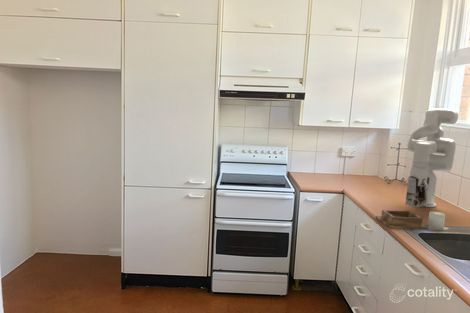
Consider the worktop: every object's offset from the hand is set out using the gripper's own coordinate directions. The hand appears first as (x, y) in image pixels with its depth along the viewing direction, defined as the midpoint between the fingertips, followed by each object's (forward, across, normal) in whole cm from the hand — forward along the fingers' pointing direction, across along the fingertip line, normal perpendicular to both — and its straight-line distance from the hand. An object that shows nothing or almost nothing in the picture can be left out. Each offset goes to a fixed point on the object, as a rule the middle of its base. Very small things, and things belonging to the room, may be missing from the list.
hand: (416, 195), depth 193 cm
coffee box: (+6, 0, 0) cm, 6 cm away
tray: (+10, +15, -16) cm, 24 cm away
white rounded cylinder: (+11, +19, 0) cm, 22 cm away
